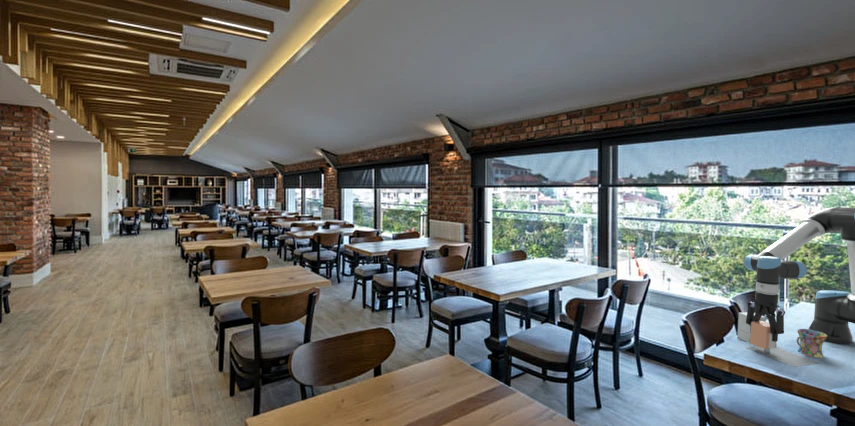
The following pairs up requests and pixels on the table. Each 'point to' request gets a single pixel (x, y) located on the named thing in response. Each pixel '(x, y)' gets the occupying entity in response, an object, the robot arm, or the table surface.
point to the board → (786, 357)
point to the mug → (811, 342)
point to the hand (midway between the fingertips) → (762, 344)
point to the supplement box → (745, 326)
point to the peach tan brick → (760, 334)
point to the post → (762, 349)
